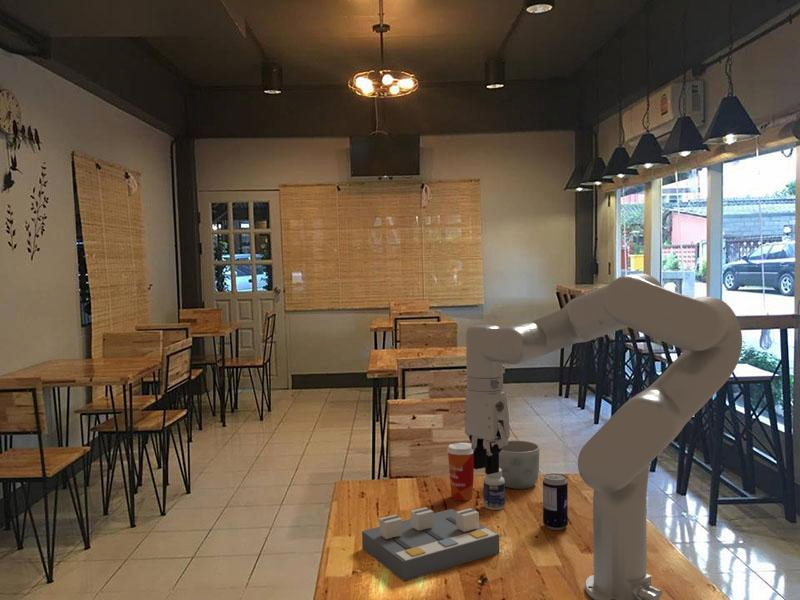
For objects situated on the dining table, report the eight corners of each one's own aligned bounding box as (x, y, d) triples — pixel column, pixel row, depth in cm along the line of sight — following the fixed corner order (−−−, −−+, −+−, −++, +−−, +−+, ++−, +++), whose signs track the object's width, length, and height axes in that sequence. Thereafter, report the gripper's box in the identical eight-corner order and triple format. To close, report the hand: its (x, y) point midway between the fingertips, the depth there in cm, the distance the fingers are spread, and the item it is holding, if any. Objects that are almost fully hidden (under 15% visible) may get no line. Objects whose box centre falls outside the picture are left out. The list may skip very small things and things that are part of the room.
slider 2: (433, 526, 149) (433, 510, 149) (418, 530, 147) (417, 514, 147) (426, 522, 152) (426, 506, 152) (411, 526, 150) (410, 509, 150)
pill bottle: (488, 511, 169) (488, 473, 169) (480, 504, 174) (480, 467, 174) (508, 509, 171) (508, 471, 170) (499, 502, 176) (499, 465, 175)
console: (499, 552, 145) (499, 532, 145) (403, 581, 133) (403, 559, 133) (451, 525, 161) (451, 506, 161) (362, 548, 149) (362, 528, 149)
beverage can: (568, 532, 156) (568, 481, 155) (543, 530, 157) (542, 480, 156) (567, 522, 161) (566, 473, 160) (543, 521, 162) (542, 472, 162)
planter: (492, 490, 185) (492, 451, 184) (497, 476, 197) (496, 439, 196) (539, 493, 182) (538, 453, 181) (540, 478, 194) (540, 441, 193)
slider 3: (479, 527, 148) (478, 511, 148) (464, 531, 146) (463, 515, 146) (470, 523, 151) (470, 507, 150) (456, 527, 149) (455, 510, 148)
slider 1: (402, 534, 145) (402, 518, 145) (386, 539, 143) (385, 522, 143) (395, 530, 148) (395, 513, 148) (379, 534, 146) (379, 517, 146)
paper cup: (442, 495, 182) (441, 444, 181) (467, 490, 185) (466, 440, 184) (456, 504, 174) (455, 451, 174) (482, 499, 178) (481, 447, 177)
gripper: (525, 388, 135) (525, 477, 136) (475, 376, 149) (476, 458, 150) (495, 392, 131) (496, 484, 132) (447, 380, 146) (449, 463, 147)
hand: (486, 469), depth 141 cm, fingers open, 3 cm apart
